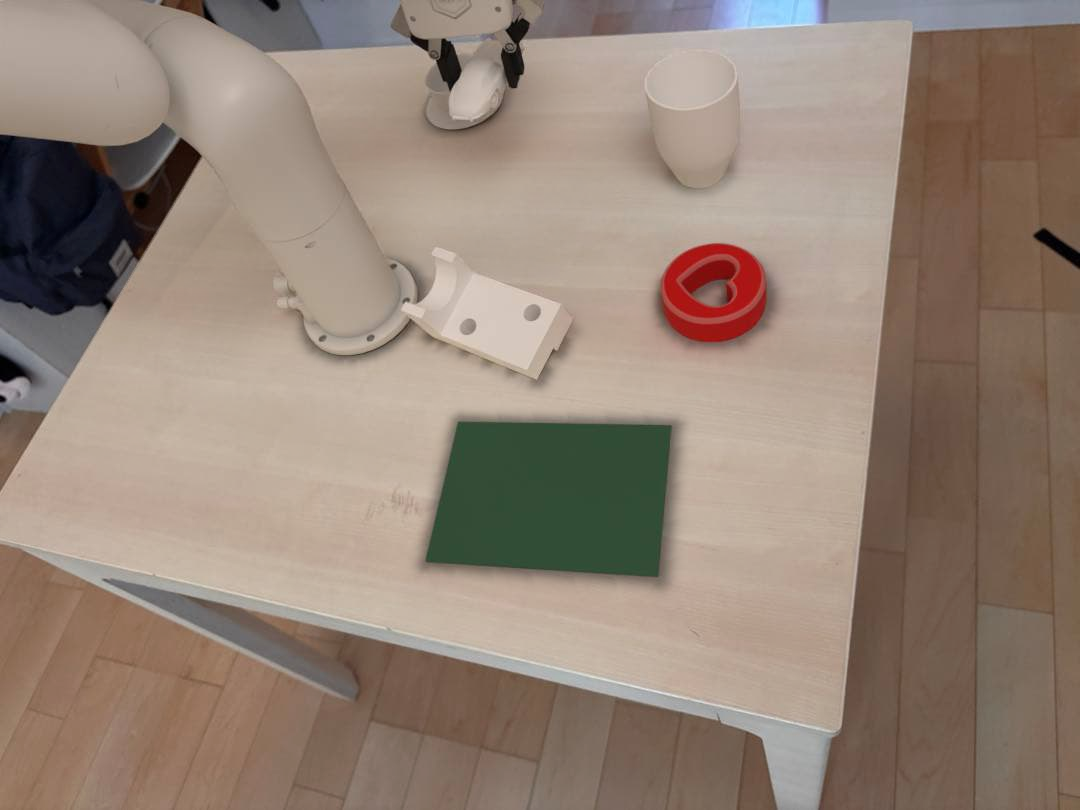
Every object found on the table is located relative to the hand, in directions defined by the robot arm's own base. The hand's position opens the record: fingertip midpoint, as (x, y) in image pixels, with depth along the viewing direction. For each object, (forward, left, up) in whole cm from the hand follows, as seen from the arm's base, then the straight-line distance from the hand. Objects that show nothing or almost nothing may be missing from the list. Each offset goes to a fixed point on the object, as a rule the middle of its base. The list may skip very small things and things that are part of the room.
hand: (485, 81), depth 88 cm
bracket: (+2, -23, -13) cm, 26 cm away
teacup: (-9, +13, -13) cm, 21 cm away
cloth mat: (+10, -40, -13) cm, 43 cm away
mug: (+21, 0, -13) cm, 25 cm away
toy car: (0, 0, -1) cm, 1 cm away
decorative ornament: (+23, -19, -13) cm, 32 cm away
